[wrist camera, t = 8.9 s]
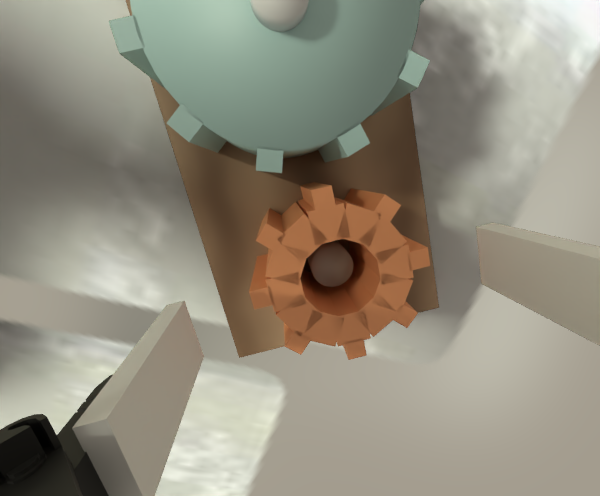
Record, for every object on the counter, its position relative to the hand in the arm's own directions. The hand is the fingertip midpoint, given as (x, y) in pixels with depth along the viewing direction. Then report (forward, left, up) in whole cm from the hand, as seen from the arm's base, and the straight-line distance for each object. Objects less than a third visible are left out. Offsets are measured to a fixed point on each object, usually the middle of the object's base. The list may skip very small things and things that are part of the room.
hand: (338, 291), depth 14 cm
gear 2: (0, 0, -9) cm, 9 cm away
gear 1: (0, +12, -9) cm, 15 cm away
